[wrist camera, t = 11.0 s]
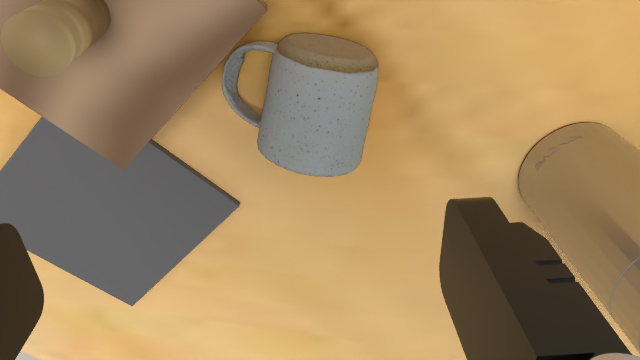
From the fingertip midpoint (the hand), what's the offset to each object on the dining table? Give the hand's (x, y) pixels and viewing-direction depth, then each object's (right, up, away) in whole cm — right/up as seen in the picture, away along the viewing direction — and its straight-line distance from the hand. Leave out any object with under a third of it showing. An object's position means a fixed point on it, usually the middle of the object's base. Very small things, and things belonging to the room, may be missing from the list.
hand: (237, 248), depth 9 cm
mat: (-17, -1, +32) cm, 36 cm away
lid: (-11, +11, +18) cm, 24 cm away
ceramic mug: (0, +9, +28) cm, 29 cm away
